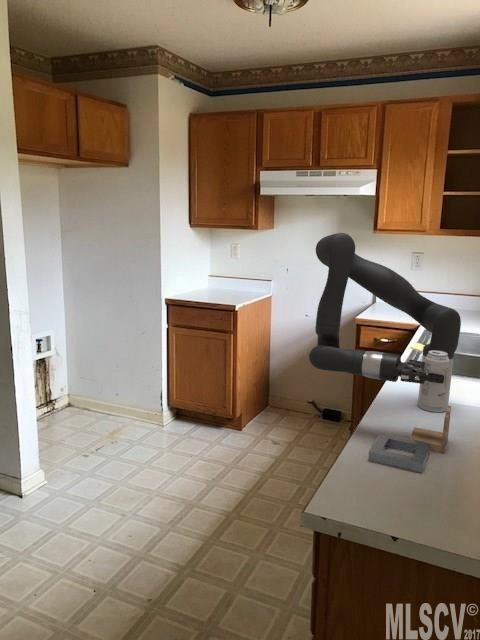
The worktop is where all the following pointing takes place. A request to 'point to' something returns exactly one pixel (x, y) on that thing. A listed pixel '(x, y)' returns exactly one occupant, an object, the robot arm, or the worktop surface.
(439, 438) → the wooden l-shaped stand
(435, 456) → the worktop surface
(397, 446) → the socket block
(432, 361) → the energy drink can
